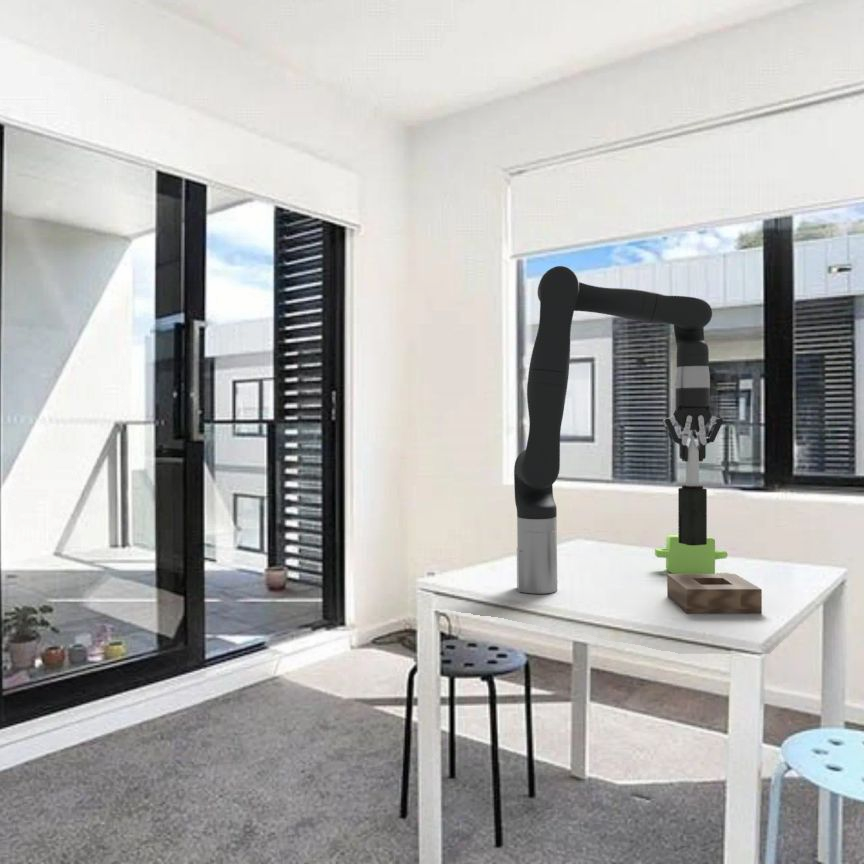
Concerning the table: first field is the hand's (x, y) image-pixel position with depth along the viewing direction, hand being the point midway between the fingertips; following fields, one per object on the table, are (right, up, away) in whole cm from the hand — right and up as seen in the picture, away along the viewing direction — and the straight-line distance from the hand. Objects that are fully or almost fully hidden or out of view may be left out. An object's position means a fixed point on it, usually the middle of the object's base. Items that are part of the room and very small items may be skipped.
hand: (692, 460), depth 172 cm
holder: (0, -30, -13) cm, 33 cm away
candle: (0, -19, 0) cm, 19 cm away
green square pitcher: (+7, -30, +21) cm, 37 cm away
